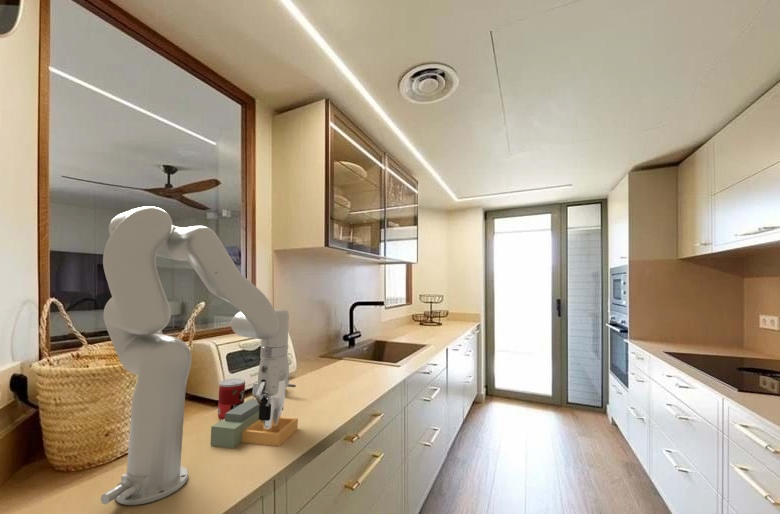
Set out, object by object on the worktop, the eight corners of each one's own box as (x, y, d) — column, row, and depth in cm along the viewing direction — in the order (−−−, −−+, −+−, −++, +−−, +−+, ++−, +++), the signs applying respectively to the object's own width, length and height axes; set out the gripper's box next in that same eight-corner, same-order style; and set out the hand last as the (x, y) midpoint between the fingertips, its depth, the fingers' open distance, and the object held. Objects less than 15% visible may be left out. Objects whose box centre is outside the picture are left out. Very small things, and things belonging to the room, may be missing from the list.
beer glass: (287, 432, 95) (291, 378, 97) (266, 440, 89) (271, 383, 91) (272, 426, 98) (276, 375, 100) (251, 434, 93) (256, 379, 95)
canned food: (233, 421, 103) (235, 385, 104) (211, 419, 105) (213, 383, 106) (248, 412, 111) (250, 379, 112) (228, 410, 112) (229, 377, 113)
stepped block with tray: (271, 452, 84) (272, 424, 85) (210, 445, 88) (211, 418, 88) (305, 421, 104) (306, 398, 104) (254, 416, 107) (255, 394, 108)
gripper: (269, 358, 87) (266, 429, 85) (299, 347, 104) (297, 405, 102) (244, 357, 88) (240, 426, 87) (277, 346, 105) (275, 403, 104)
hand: (271, 414), depth 94 cm, fingers open, 6 cm apart
